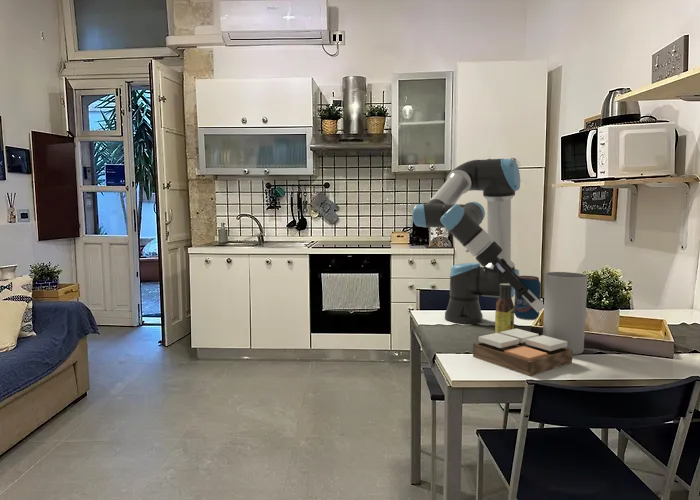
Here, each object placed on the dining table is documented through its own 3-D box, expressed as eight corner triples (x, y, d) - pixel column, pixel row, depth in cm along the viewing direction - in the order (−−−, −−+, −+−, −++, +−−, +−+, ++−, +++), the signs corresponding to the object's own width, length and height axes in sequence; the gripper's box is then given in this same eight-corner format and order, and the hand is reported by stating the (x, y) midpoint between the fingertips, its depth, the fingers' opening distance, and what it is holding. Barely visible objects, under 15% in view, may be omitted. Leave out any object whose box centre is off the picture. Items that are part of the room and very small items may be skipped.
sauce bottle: (514, 343, 170) (516, 286, 168) (495, 342, 172) (497, 285, 170) (512, 338, 177) (514, 283, 175) (493, 337, 178) (495, 282, 176)
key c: (542, 339, 157) (542, 335, 157) (567, 346, 150) (567, 341, 150) (525, 344, 152) (525, 339, 152) (550, 351, 145) (550, 346, 145)
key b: (496, 337, 159) (496, 332, 159) (518, 343, 153) (519, 338, 152) (478, 341, 155) (478, 336, 155) (500, 348, 148) (500, 343, 148)
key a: (516, 332, 165) (516, 328, 165) (538, 338, 158) (538, 334, 158) (499, 336, 160) (499, 332, 160) (521, 342, 153) (521, 338, 153)
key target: (522, 350, 152) (522, 345, 151) (547, 358, 145) (547, 353, 144) (504, 355, 147) (504, 350, 147) (529, 363, 140) (529, 358, 140)
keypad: (514, 346, 167) (515, 334, 167) (571, 362, 150) (572, 350, 150) (472, 356, 156) (473, 344, 155) (529, 376, 139) (530, 362, 138)
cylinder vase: (586, 348, 165) (590, 274, 162) (579, 358, 155) (583, 279, 152) (547, 342, 172) (550, 270, 169) (537, 351, 162) (541, 275, 159)
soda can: (510, 318, 144) (512, 277, 142) (517, 313, 149) (519, 274, 148) (535, 322, 140) (537, 279, 139) (541, 317, 146) (543, 276, 144)
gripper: (475, 253, 156) (527, 308, 154) (473, 261, 137) (533, 323, 135) (493, 237, 154) (546, 292, 152) (494, 243, 136) (554, 305, 133)
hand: (540, 306), depth 143 cm, fingers closed on soda can, 7 cm apart
